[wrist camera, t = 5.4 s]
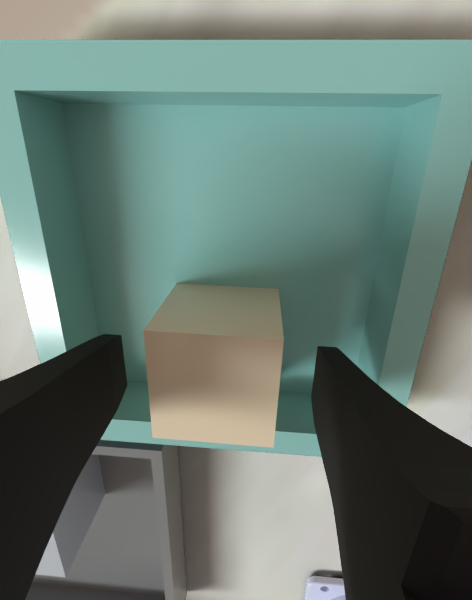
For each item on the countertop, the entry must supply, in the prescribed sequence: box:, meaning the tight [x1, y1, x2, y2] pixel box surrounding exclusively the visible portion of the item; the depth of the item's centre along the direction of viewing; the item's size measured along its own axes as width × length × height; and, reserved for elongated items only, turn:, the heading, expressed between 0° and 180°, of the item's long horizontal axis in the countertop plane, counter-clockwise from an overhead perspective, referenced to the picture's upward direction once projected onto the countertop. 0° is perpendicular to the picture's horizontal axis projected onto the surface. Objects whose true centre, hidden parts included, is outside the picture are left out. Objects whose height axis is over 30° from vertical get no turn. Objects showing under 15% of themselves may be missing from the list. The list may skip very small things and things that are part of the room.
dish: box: [0, 40, 472, 457], centre depth 12 cm, size 13×13×3 cm
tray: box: [25, 440, 187, 600], centre depth 19 cm, size 17×15×2 cm
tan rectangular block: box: [143, 283, 284, 448], centre depth 12 cm, size 4×4×4 cm
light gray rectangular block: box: [36, 454, 105, 577], centre depth 16 cm, size 4×4×4 cm
